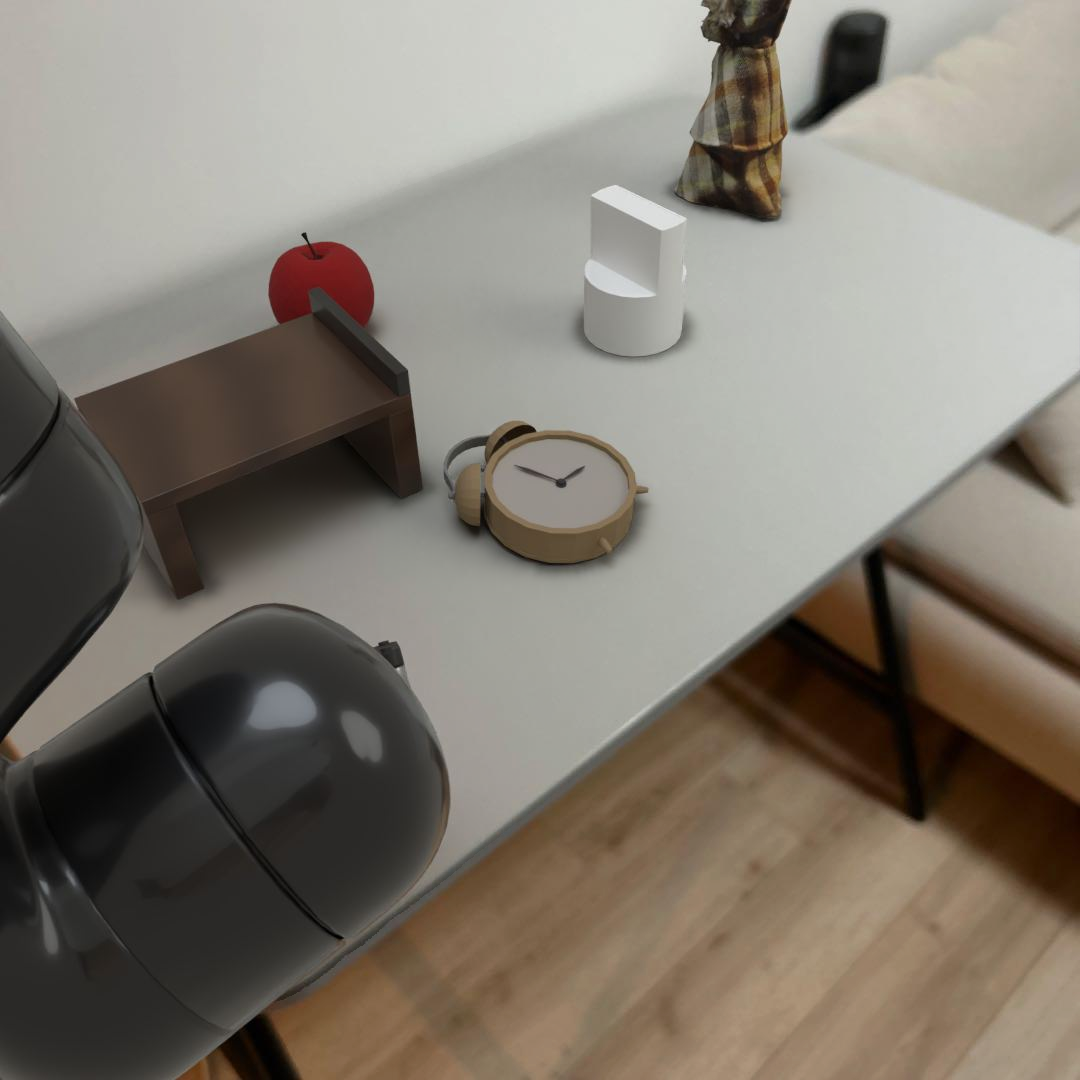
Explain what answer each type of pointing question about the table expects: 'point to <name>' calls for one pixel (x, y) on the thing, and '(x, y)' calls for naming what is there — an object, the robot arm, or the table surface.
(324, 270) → the apple
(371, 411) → the shelf
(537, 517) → the alarm clock
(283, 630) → the robot arm
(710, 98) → the plaid figurine
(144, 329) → the table surface
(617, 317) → the cylinder with rectangular tab
